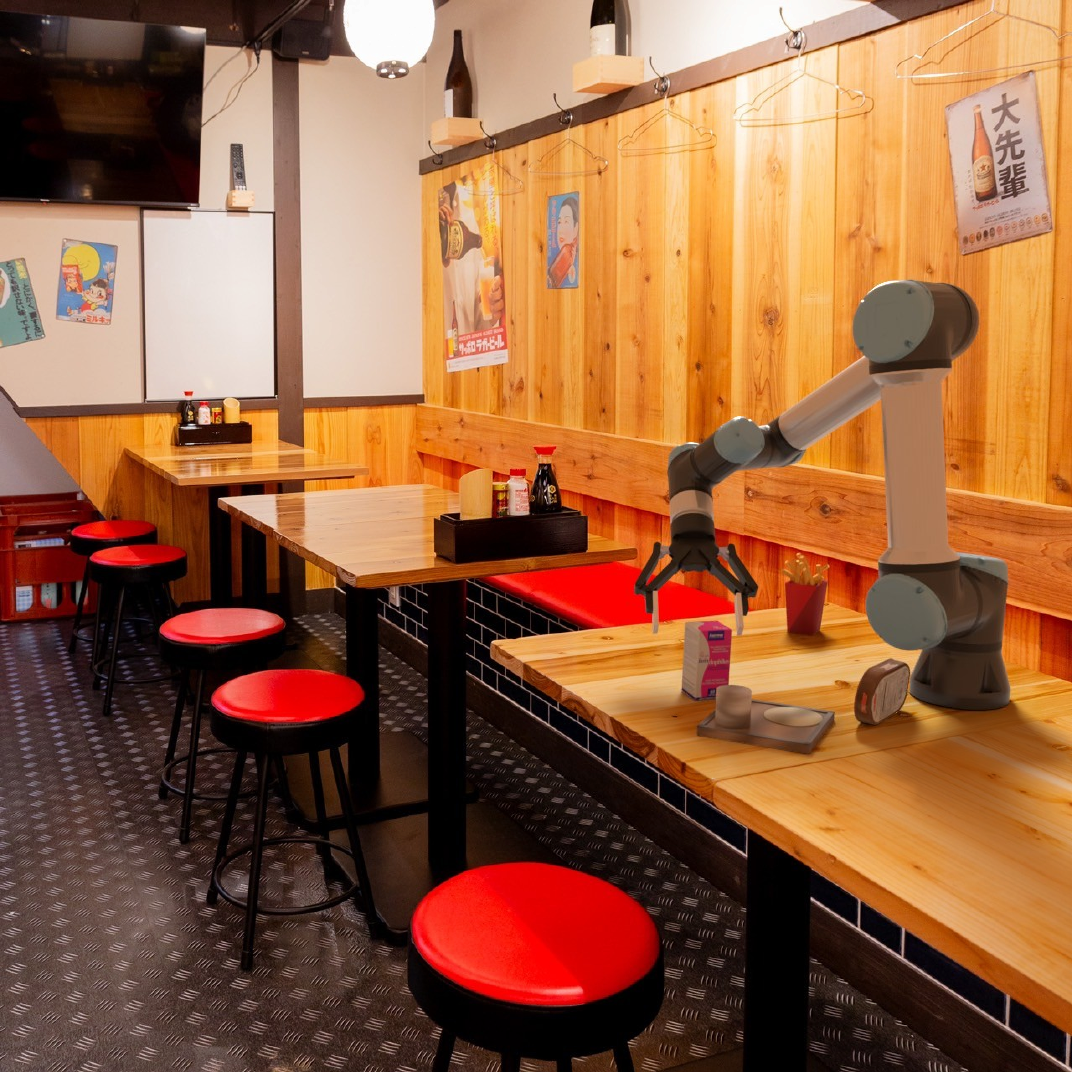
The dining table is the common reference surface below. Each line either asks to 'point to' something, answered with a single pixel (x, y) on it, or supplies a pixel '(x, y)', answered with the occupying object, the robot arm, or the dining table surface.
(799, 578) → the french fries
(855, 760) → the dining table surface
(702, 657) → the supplement box
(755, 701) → the board
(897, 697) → the tin
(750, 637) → the dining table surface
